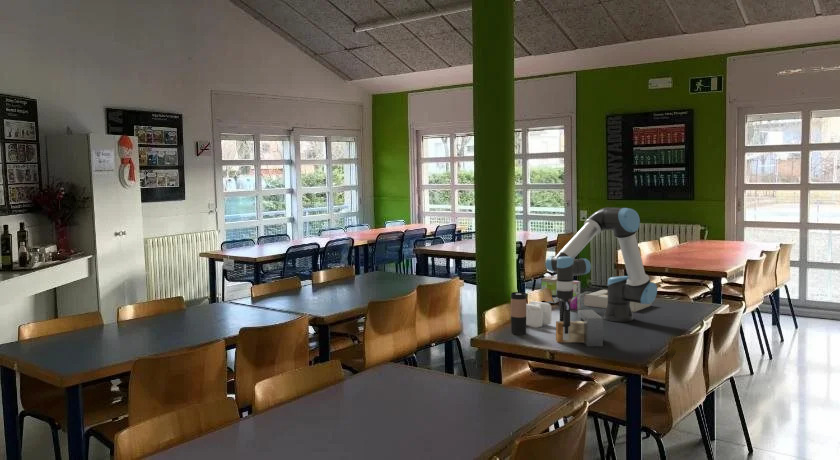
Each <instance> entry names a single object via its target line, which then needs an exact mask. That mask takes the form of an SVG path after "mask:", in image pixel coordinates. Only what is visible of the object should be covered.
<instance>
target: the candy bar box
mask: <svg viewBox="0 0 840 460" xmlns="http://www.w3.org/2000/svg"><path fill="white" fill-rule="evenodd" d="M573 282H574V285H573V289H572V290H573V298H572V299H569V302H570V306H571V308H570V310H574V311H575V310H576V311H578V310H581V280H580V281H579V280H573ZM559 301H561V299H559ZM558 303H559V309H560V302H558Z"/></svg>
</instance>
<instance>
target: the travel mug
mask: <svg viewBox="0 0 840 460" xmlns="http://www.w3.org/2000/svg"><path fill="white" fill-rule="evenodd" d="M526 304H527V293H526V292H522V291H514V292H513V291H512V292H511V293H510V327H511V328H510V329H511V330H510V333H511V334H513V335H517V336H518V335H519V336H521V335H526V333H527V326H526Z"/></svg>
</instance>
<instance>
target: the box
mask: <svg viewBox="0 0 840 460" xmlns="http://www.w3.org/2000/svg"><path fill="white" fill-rule="evenodd" d="M583 297H584V299H583V303H584V306H587V307H594V308H601V309H606V307H607V304H608V289H600V290H597V291H594V292H590V293H587V294H584V296H583ZM651 306H652V303H650V304H641V303H636V302H630V307H631V310H632V313H635V312H638V311H640V310H643V309H646V308H649V307H651Z"/></svg>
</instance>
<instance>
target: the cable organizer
mask: <svg viewBox="0 0 840 460" xmlns="http://www.w3.org/2000/svg"><path fill="white" fill-rule="evenodd" d="M552 308H553V307H552V305H551V303H548V302H541V301H536V300H532V301H529V303H526V327H532V328H535V329H538V328H541V327H543V326H548V325H551V324H552Z"/></svg>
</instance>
